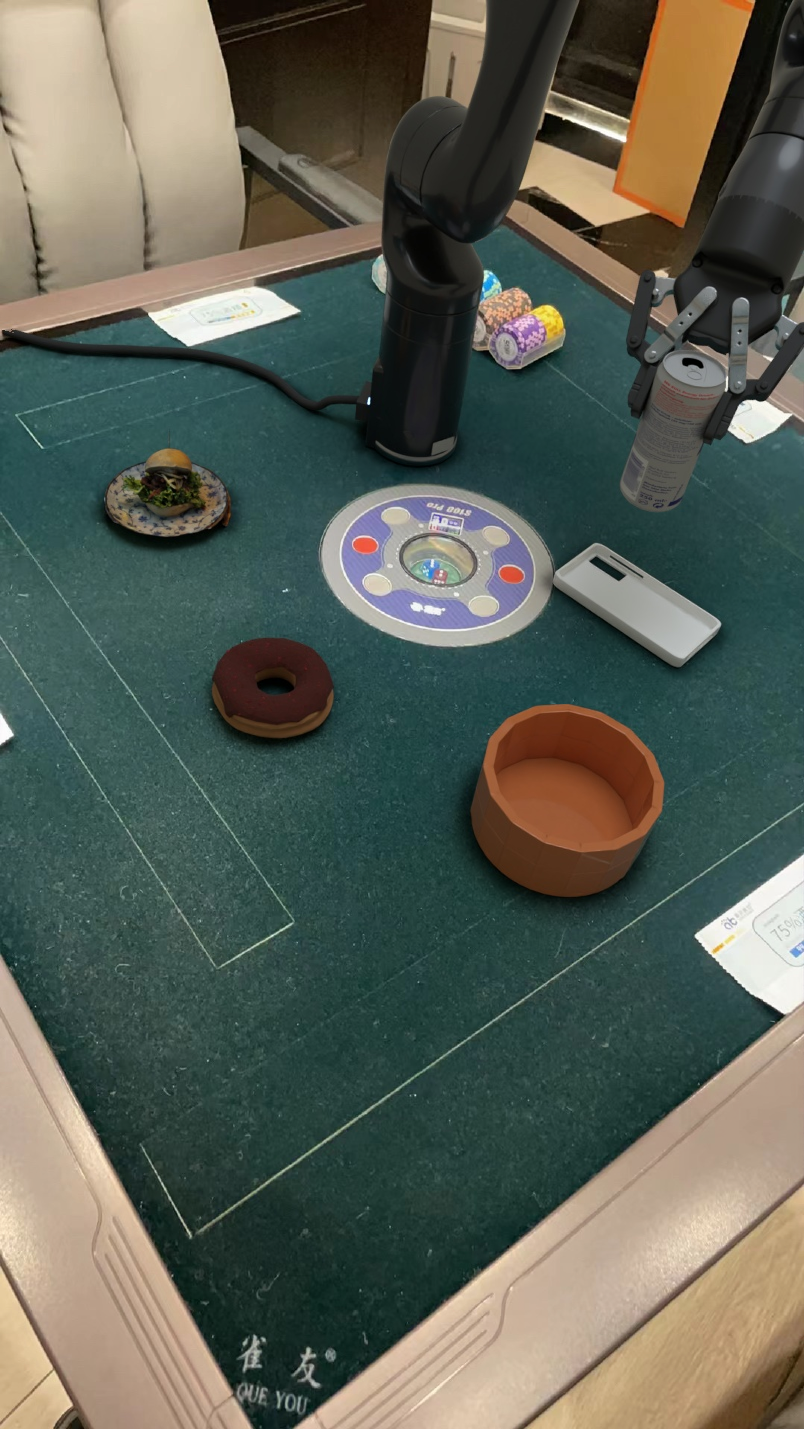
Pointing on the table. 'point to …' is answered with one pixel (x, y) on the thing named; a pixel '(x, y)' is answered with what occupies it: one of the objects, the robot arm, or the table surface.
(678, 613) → the phone case
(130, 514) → the burger
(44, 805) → the table surface
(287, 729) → the donut
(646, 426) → the energy drink
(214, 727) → the table surface
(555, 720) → the bowl
